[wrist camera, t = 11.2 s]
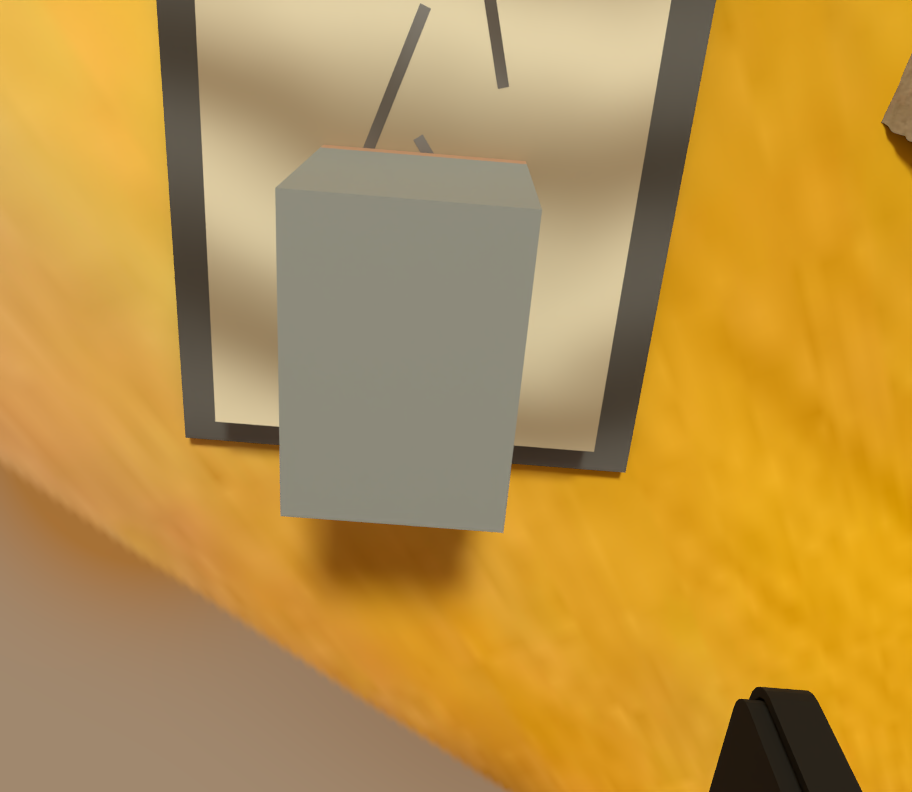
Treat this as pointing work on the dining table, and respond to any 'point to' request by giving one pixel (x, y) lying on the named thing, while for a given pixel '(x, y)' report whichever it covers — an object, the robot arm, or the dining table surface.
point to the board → (439, 132)
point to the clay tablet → (901, 106)
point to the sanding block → (402, 334)
